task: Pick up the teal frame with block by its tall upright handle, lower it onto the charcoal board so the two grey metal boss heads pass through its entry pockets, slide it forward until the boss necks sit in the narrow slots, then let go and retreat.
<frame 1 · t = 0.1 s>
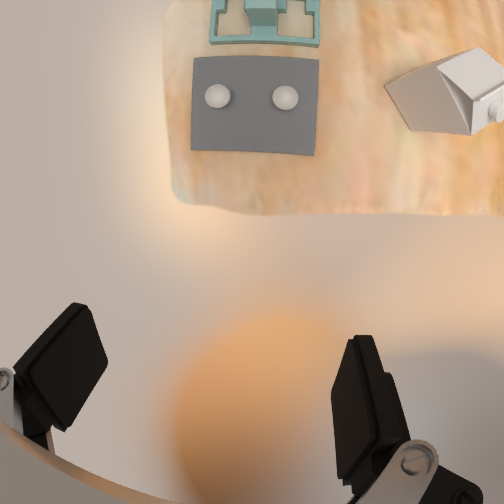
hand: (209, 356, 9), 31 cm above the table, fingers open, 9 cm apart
milk carton: (414, 98, 30), on the table
teal frame with block: (265, 17, 28), on the table
board: (253, 102, 33), on the table
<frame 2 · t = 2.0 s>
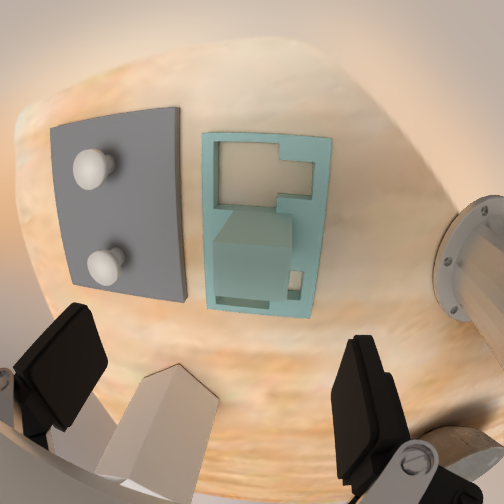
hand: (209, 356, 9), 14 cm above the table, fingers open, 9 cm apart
milk carton: (180, 387, 31), on the table
teal frame with block: (263, 227, 22), on the table
ceramic bowl: (433, 438, 32), on the table
board: (113, 208, 23), on the table
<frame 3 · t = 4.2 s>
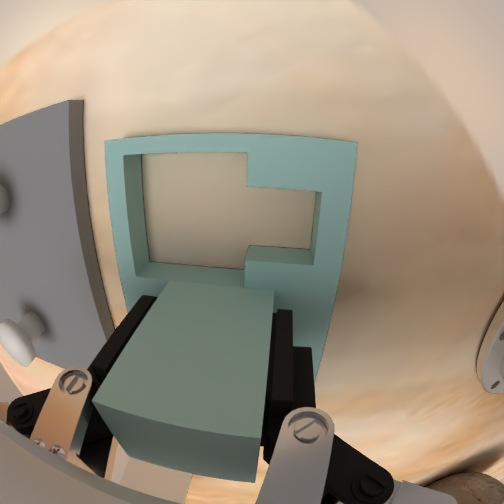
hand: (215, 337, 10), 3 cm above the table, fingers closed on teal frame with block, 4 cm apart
milk carton: (147, 454, 22), on the table
teal frame with block: (227, 300, 12), on the table, touching gripper
ceramic bowl: (440, 483, 24), on the table
board: (22, 257, 13), on the table
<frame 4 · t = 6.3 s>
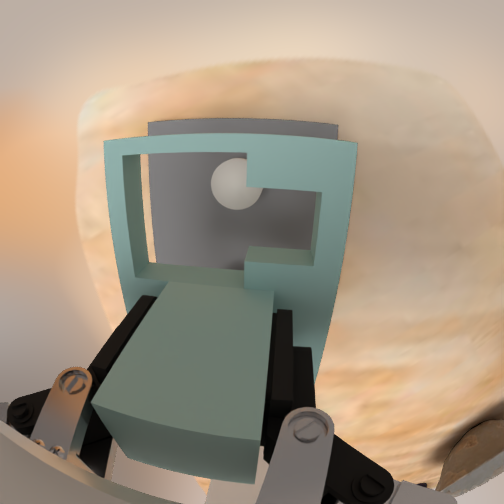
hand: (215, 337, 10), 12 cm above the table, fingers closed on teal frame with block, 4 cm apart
milk carton: (271, 409, 30), on the table
teal frame with block: (226, 301, 12), point 10 cm above the table, touching gripper
ceramic bowl: (475, 432, 31), on the table
board: (237, 228, 21), on the table
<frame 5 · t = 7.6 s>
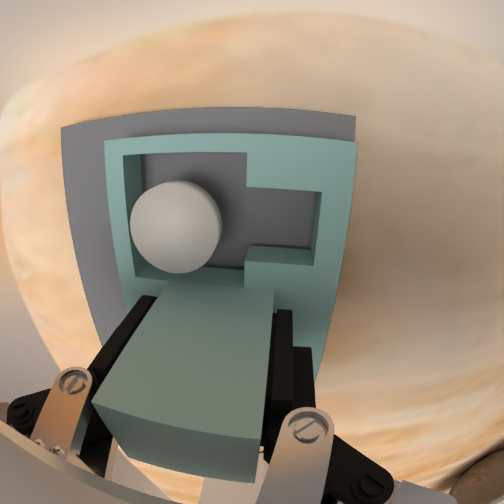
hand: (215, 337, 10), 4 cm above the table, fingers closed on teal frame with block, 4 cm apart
milk carton: (257, 466, 23), on the table
teal frame with block: (227, 301, 12), point 1 cm above the table, touching gripper
ceramic bowl: (482, 461, 25), on the table
board: (195, 281, 14), on the table
when the fingers open (4 cm above the table, at t = 8.6 s): teal frame with block stays where it is, resting on board.
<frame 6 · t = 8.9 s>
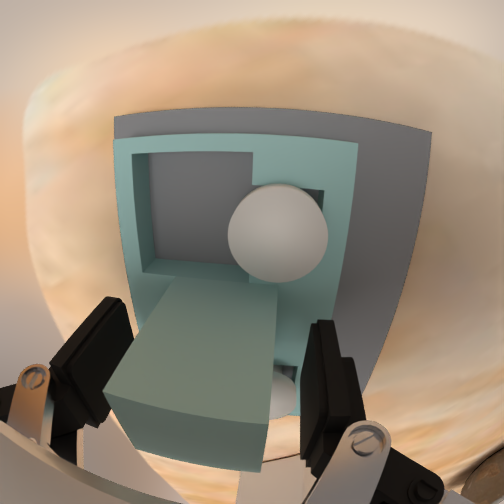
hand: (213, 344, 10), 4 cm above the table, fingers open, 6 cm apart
milk carton: (290, 468, 22), on the table
teal frame with block: (231, 296, 13), point 1 cm above the table, touching board
ceramic bowl: (494, 457, 25), on the table
board: (263, 287, 14), on the table
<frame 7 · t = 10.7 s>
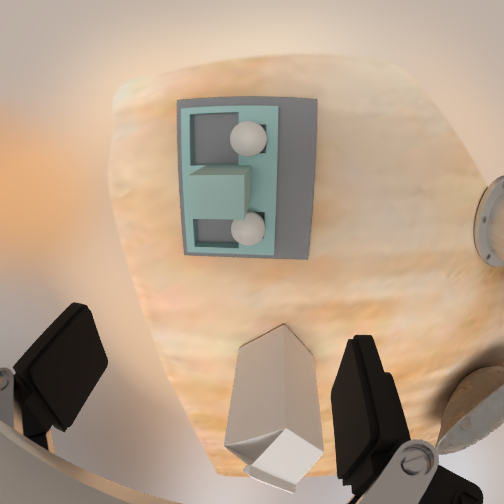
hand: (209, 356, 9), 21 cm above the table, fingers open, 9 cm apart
milk carton: (276, 350, 36), on the table
teal frame with block: (230, 179, 27), point 1 cm above the table, touching board
ceramic bowl: (469, 384, 39), on the table
board: (246, 178, 27), on the table
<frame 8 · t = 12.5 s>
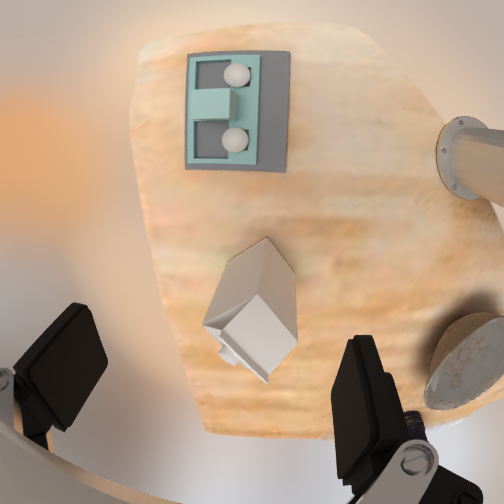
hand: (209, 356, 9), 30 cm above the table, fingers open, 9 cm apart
milk carton: (261, 267, 42), on the table
teal frame with block: (224, 108, 32), point 1 cm above the table, touching board
ceramic bowl: (456, 336, 44), on the table
board: (236, 109, 33), on the table
storage jar: (403, 420, 56), on the table
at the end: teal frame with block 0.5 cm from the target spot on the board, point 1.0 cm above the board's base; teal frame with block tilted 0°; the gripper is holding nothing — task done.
